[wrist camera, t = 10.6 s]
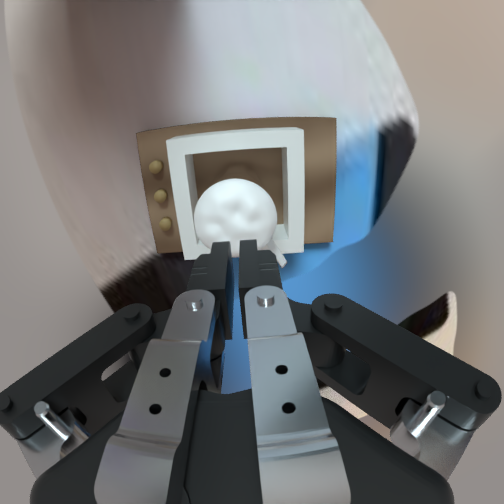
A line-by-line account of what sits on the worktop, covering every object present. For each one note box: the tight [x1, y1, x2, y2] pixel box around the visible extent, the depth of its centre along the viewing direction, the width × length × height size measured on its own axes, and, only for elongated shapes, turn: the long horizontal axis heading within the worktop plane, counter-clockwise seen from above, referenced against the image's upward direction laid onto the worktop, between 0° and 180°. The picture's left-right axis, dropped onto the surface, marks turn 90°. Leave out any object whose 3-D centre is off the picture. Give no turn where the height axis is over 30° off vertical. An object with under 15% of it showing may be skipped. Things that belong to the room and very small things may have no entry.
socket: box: [166, 127, 305, 260], centre depth 22 cm, size 9×9×3 cm
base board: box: [136, 117, 336, 253], centre depth 23 cm, size 11×16×2 cm
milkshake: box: [194, 164, 287, 268], centre depth 18 cm, size 5×5×10 cm
